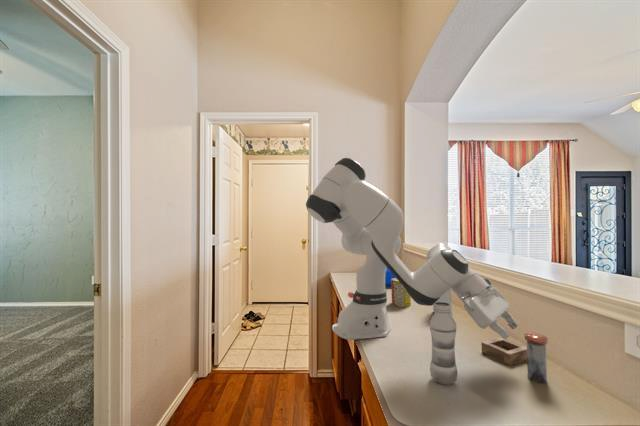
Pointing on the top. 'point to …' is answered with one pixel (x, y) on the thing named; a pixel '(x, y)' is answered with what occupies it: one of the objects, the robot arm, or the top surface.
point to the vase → (388, 277)
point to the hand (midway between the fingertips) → (512, 332)
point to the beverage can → (399, 294)
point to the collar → (505, 350)
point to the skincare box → (445, 300)
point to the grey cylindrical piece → (536, 357)
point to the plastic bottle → (443, 345)
